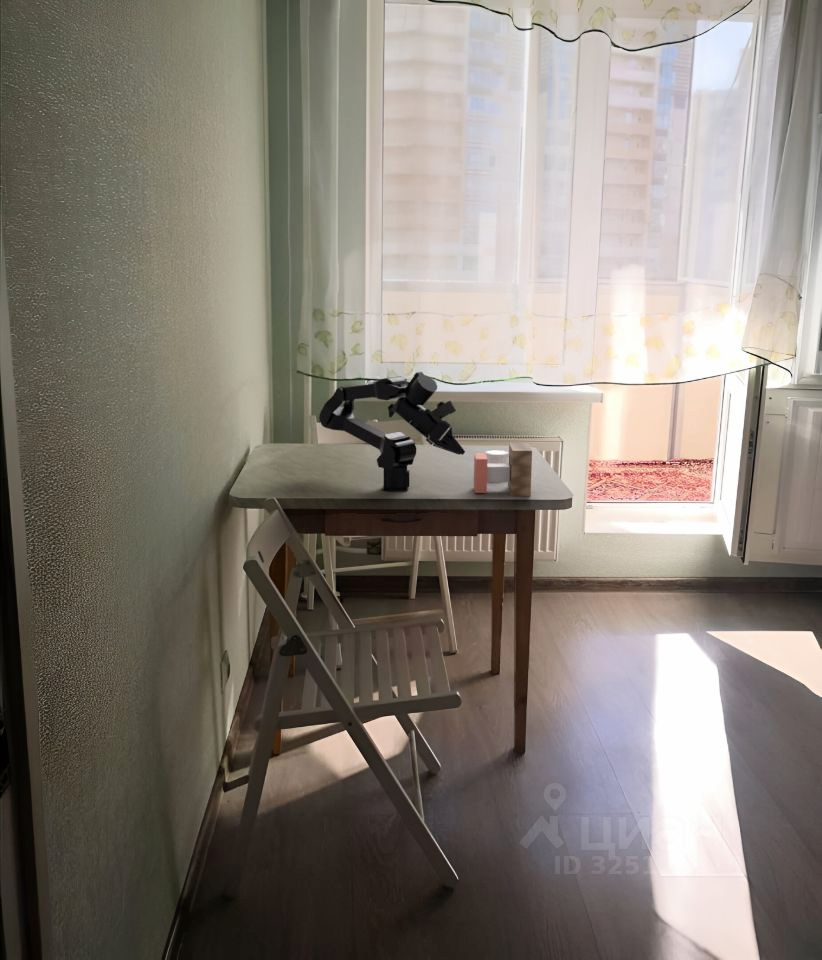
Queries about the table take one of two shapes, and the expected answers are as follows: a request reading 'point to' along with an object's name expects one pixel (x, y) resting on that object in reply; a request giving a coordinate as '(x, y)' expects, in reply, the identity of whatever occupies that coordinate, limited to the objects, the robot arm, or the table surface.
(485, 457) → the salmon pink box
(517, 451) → the block
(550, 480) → the table surface
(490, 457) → the shot glass
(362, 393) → the robot arm
